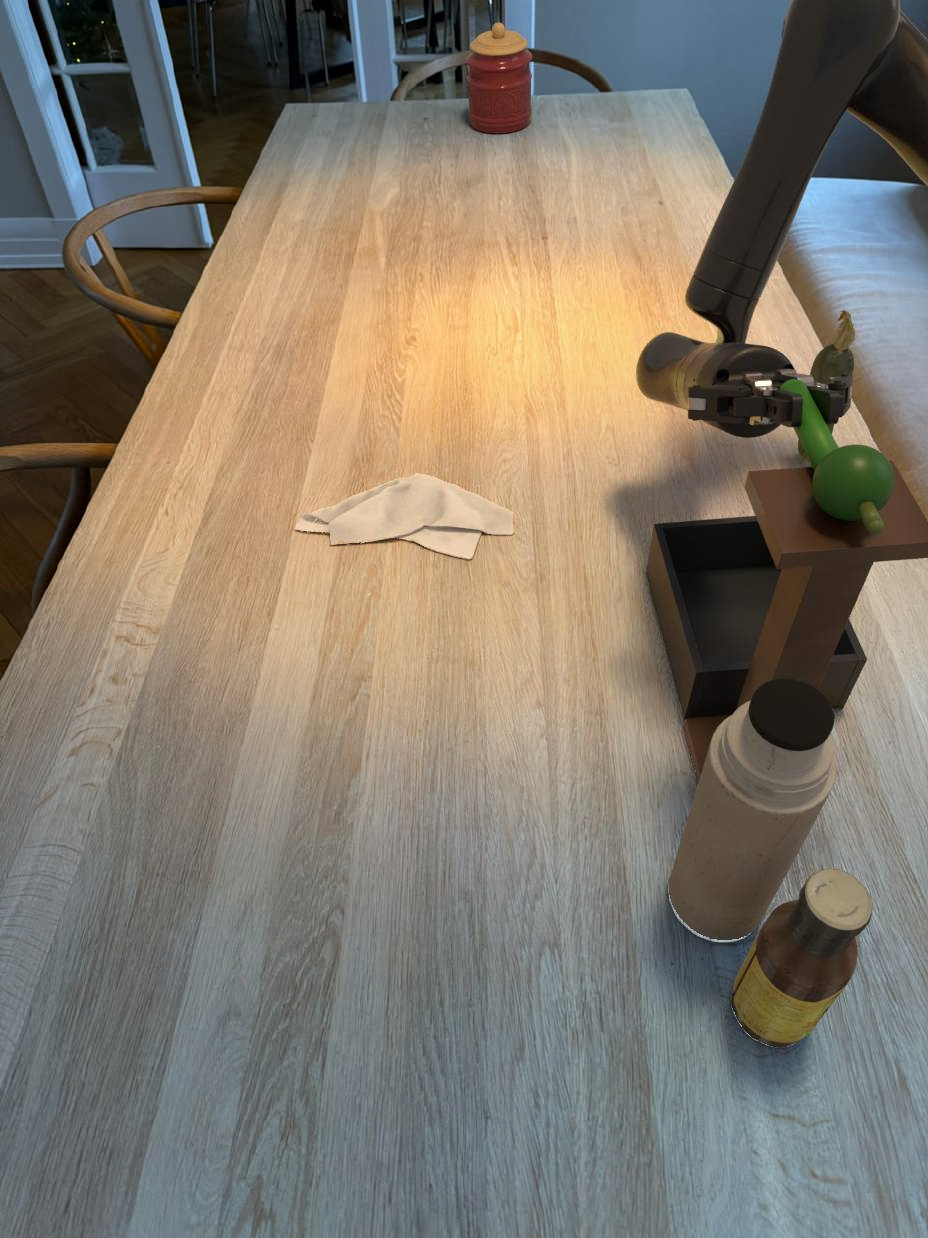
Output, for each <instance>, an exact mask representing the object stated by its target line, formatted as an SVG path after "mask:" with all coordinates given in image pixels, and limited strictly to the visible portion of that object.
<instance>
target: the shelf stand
mask: <svg viewBox="0 0 928 1238" xmlns="http://www.w3.org/2000/svg"><path fill="white" fill-rule="evenodd" d="M888 461H889V462H890V464H891V466H892V468H893V472H894V478H895V483H894V489H893V493H892V495H891V497H890V499H889V501H888V502H887V503H886V505H885V506H884V507H883V508H882V509H881V510H880V511H878V513H879V515H880V517H881V519H882V520H883V522H884V530H883V531H882V532H881V533H880V534H877V535H874V534H870V533H869V532H868V531H867V529H866V527H865V525H864V523H863V521H862V519H861V520H856V521H846V520H840V519H837V518H834V517H832V516H830V515H829V514H827V513H826V512H825V511H824V510H823V509H822V508H821V507H820V506H819V505H818V503H817V502H816V500H815V497H814V494H813V489H812V480H813V476H814V469H813V467H812V466H800V467H788V468H787V467H786V468H774V469H773V468H772V469H762V470H749V471H748V472H747V476H746V479H745V482H744V483H745V484H744V490H745V493H746V495H747V498H748V500H749V502H750V505H751V508H752V510H753V513H754V516H756V518H757V520H758V523H759V525H760V528H761V531H762V533H763V536H764V538H765V541H766V543H767V546H768V548H769V551H770V553H771V556H772V558H773V561H774V563H775V566H776V568H777V569H782V570H781V573H780V576H779V579H778V582H777V585H776V588H775V591H774V595H773V598H772V601H771V604H770V607H769V610H768V613H767V616H766V619H765V622H764V625H763V628H762V631H761V634H760V637H759V640H758V643H757V646H756V649H755V652H754V656H753V659H752V662H751V665H750V668H749V671H748V674H747V677H746V680H745V683H744V686H743V689H742V692H741V695H740V698H739V701H738V704H737V707H736V710H737V709H738V708H739V707H740V706H741V705H743V704H745V703H746V702H748V701H751V698H752V696H753V694H754V692H755V691H756V690H757V689H758V688H759V687H760V686H761V685H762V684H764V683H766V682H768V681H771V680H775V679H794V680H798V681H802V682H805V683H807V684H809V685H811V686H813V687H814V688H816V689H817V690H818V688H819V685H820V683H821V681H822V679H823V676H824V674H825V672H826V669H827V667H828V665H829V663H830V660H831V658H832V656H833V654H834V651H835V649H836V647H837V644H838V642H839V640H840V638H841V635H842V633H843V631H844V628H845V626H846V624H847V622H848V619H849V620H850V618H851V615H852V613H853V610H854V608H855V606H856V603H857V601H858V599H859V597H860V594H861V592H862V589H863V587H864V585H865V583H866V581H867V578H868V576H869V573H870V571H871V569H872V566H873V565H874V563H881V562H893V561H894V562H895V561H907V560H918V559H919V560H921V559H928V519H927V517H926V516H925V514H924V513H923V511H922V509H921V507H920V505H919V503H918V502H917V500H916V498H915V497H914V495H913V493H912V492H911V490H910V489H909V486H908V485H907V483H906V481H905V480H904V478H903V476H902V474H901V472H900V471H899V469H898V467H897V466H896V464H895V462H894V461H893V460H888ZM736 710H735V711H736ZM730 716H731V715H724V716H711V717H698V718H686V720H684V724H683V729H684V733H685V737H686V741H688V742H687V745H689V746H688V749H689V748H690V750H689V753H690V752H691V753H690V756H692V757H691V761H692V760H693V761H692V765H693V764H694V765H693V768H694V767H695V769H694V771H695V770H696V773H695V775H696V774H697V776H696V780H697V779H698V780H697V783H698V782H699V779H700V776H701V773H702V770H703V766H704V763H705V759H706V756H707V752H708V749H709V746H710V743H711V740H712V737H713V734H714V732H715V731H716V729H717V728H718V726H719V725H720V724H721V723H722V722H723V721H724V720H725V719H726V718H728V717H730Z"/></svg>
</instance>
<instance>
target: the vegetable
mask: <svg viewBox="0 0 928 1238" xmlns="http://www.w3.org/2000/svg"><path fill="white" fill-rule="evenodd" d="M840 312H841V313H840V314H839V317H838V318H837V321H838V322H840V321H841V322H840V324H839V325H838V327H837V330H836V333H835V334H834V336H833V339H832V343H830V344H828V345H826V346H824V348H822V349H821V350H820V351H819V352H818V353H817V354H816V356H815V358H814V360H813V362H812V366H811V367H810V373H809V375H812V377H813V379H814V380H815V381H816V383H821V384H826V385H828V380H829V378H830V377H836V376H840V375H841V374H848V375H853V373H854V369H855V358H854V354H853V352H852V350H851V349H850V348H849V347H850V346H851V345H852V344H853V342H854V341H855V338H856V337H855V336H856V330H855V328H854V326H855V325H854V323H853V322H852V315H851V313H850V312H849V311H847V310H845V309H842V310H840ZM827 426H828V428H829V430H830V432H831V434H832V435H833V432H834V428H835V424H827ZM797 452H798V456H800V457H801V458H802V459H803V461H809V459H808V457H807V455H806V453H805V451H804V449H803V447H802V445H801V443H800V441H799V438H798V440H797Z"/></svg>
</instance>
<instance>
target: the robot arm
mask: <svg viewBox="0 0 928 1238" xmlns="http://www.w3.org/2000/svg"><path fill="white" fill-rule="evenodd" d="M767 92H768V93H767V96H766V99H765V102H764V105H763V108H762V111H761V114H760V117H759V119H758V122H757V125H756V127H755V131H754V134H753V136H752V139H751V141H750V144H749V147H748V149H747V152H746V154H745V155H744V158H743V161H742V163H741V165H740V168H739V170H738V172H737V174H736V176H735V178H734V181H733V182H732V185H731V187H730V188H729V191H728V193H727V195H726V198H725V200H724V202H723V204H722V206H721V208H720V210H719V212H718V214H717V217H716V219H715V221H714V223H713V226H712V228H711V229H710V232H709V235H708V236H707V240H706V242H705V244H704V247H703V249H702V251H701V253H700V255H699V259H698V261H697V264H696V266H695V268H694V271H693V274H692V276H691V278H690V281H689V283H688V285H687V288H686V291H685V294H684V303H685V306H686V307H687V309H688V310H689V311H690V312H692V313H693V314H695V315H696V316H697V317H699V318H701V319H703V320H705V321H706V322H708V323H710V325H712V326H714V327H715V328H716V340H715V342H708V341H707V342H706V341H702V340H699V339H697V338H696V339H695V338H692V337H690V336H689V337H688V336H686V335H683V334H680V333H677V332H672V331H665V332H662V333H659V334H657V335H656V336H654V337H653V338H651V339H650V340H649V341H648V342H647V343H646V345H644V347H643V348H642V350H641V352H640V354H639V356H638V359H637V362H636V367H635V380H636V384H637V388H638V389H639V392H640V393H641V394H642V395H643V397H645V398H647V399H649V400H651V401H654V402H658V403H661V404H665V405H668V406H672V407H675V408H677V409H682V410H684V411H687V419H688V420H692V421H693V422H695V421H702V422H704V423H705V424H707V425H709V426H711V427H713V428H715V429H718V430H720V431H722V432H724V433H727V434H729V435H731V436H733V437H736V438H743V439H752V438H754V439H755V438H760V437H763V436H766V435H767V434H770V433H772V432H773V431H775V430H777V428H779V427H780V426H781V425H782V426H784V427H787V428H793V427H800V426H801V423H802V411H803V397H802V395H801V394H797V393H793V392H789V391H785V390H780V387H781V386H782V385H783V384H784V383H785V382H786V381H788V380H791V379H797V380H800V381H802V382H803V383H804V384H805V385H806V387H807V388H808V390H809V392H810V394H811V396H812V398H813V400H814V402H815V404H816V406H817V407H818V409H819V411H820V413H821V415H822V417H823V419H824V421H825V423H826V425H827V424H834V425H836V424H838V422H839V420H840V418H843V417H844V416H845V415H846V414H847V412H849V410H850V408H851V405H852V393H853V379H854V376H853V374H852V375H848V374H841V375H840V376H836V377H830V378H829V380H828V385H826V384H821V383H816V381H815V380H814V379H813V377H812V375H810V374H805V373H799V372H797V370H796V369H795V367H794V365H793V363H792V362H791V361H790V359H789V358H788V357H787V356H786V355H785V354H784V353H783V352H782V351H780V350H778V349H776V348H774V347H771V346H767V345H762V344H755V343H754V344H753V343H747V338H748V334H749V329H750V327H751V323H752V319H753V316H754V313H755V310H756V308H757V306H758V303H759V302H760V299H761V297H762V295H763V292H764V290H765V288H766V286H767V284H768V281H769V280H770V277H771V275H772V274H773V270H774V269H775V266H776V264H777V261H778V260H779V257H780V255H781V253H782V250H783V248H784V245H785V243H786V241H787V238H788V235H789V233H790V232H791V228H792V226H793V223H794V221H795V217H796V215H797V213H798V210H799V208H800V205H801V203H802V200H803V198H804V195H805V193H806V191H807V188H808V186H809V183H810V181H811V178H812V176H813V174H814V172H815V170H816V168H817V166H818V163H819V161H820V160H821V157H822V155H823V153H824V151H825V149H826V147H827V146H828V143H829V141H830V139H831V137H832V136H833V134H834V132H835V130H836V129H837V126H838V125H839V123H840V121H841V120H842V118H843V116H844V114H845V113H846V112H847V113H849V114H850V115H851V116H853V117H854V118H856V119H857V120H859V121H860V122H862V123H863V124H864V125H866V126H867V127H868V128H870V129H871V130H873V131H874V132H875V133H876V134H878V135H879V137H881V138H882V139H883V140H884V141H886V142H887V143H888V144H889V145H890V146H891V147H892V148H893V149H894V151H895V152H896V153H897V154H898V155H899V156H900V158H902V159H903V161H904V162H905V164H907V166H908V167H909V168H910V169H911V170H912V171H913V172H914V174H915V175H916V176H917V177H918V178H919V179H920V180H921V181H922V183H924V185H925V186H926V187H927V188H928V38H927V37H926V36H925V34H923V33H922V32H921V31H920V29H918V28H917V26H915V24H914V23H913V22H912V21H911V20H910V19H909V17H908V16H907V15H906V14H905V13H904V11H902V9H901V1H900V0H790V3H789V5H788V7H787V9H786V12H785V15H784V19H783V23H782V29H781V42H780V46H779V50H778V54H777V57H776V61H775V66H774V70H773V74H772V77H771V81H770V85H769V90H768V91H767Z"/></svg>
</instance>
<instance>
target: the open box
mask: <svg viewBox="0 0 928 1238" xmlns="http://www.w3.org/2000/svg"><path fill="white" fill-rule="evenodd" d="M647 556H648V557H647V563H646V570H645V578H646V581H647V585H648V589H649V592H650V596H651V600H652V604H653V608H654V612H655V616H656V619H657V623H658V626H659V630H660V634H661V638H662V642H663V645H664V650H665V655H666V657H667V661H668V665H669V669H670V672H671V676H672V680H673V683H674V687H675V691H676V695H677V699H678V703H679V707H680V710H681V715H682V718H684V719H683V720H684V721H685V720H686V718H698V717H711V716H724V715H733V713H734V712H735V710H736V707H737V704H738V701H739V698H740V695H741V692H742V689H743V686H744V683H745V680H746V677H747V674H748V671H749V668H750V665H751V662H752V659H753V656H754V652H755V649H756V646H757V643H758V640H759V637H760V634H761V631H762V628H763V625H764V622H765V619H766V616H767V613H768V610H769V607H770V604H771V601H772V598H773V595H774V591H775V588H776V585H777V582H778V579H779V576H780V573H781V570H782V569H777V568H776V566H775V563H774V561H773V558H772V556H771V553H770V551H769V548H768V546H767V543H766V541H765V538H764V536H763V533H762V531H761V528H760V525H759V523H758V520H757V518H756V515H747V516H734V517H722V518H708V519H707V518H706V519H696V520H695V519H694V520H683V521H682V520H681V521H670V522H669V521H668V522H657V523H653V525H652V530H651V537H650V544H649V551H648V555H647ZM867 661H868V658H867V655H866V653H865V651H864V648H863V647H862V645H861V642H860V639H859V638H858V635H857V633H856V631H855V629H854V626H853V625H852V622H851V620H850V618H849V619H848V622H847V624H846V626H845V628H844V631H843V633H842V635H841V638H840V640H839V642H838V644H837V647H836V649H835V651H834V654H833V656H832V658H831V660H830V663H829V665H828V667H827V669H826V672H825V674H824V676H823V679H822V681H821V683H820V685H819V688H818V690H819V691H820V692H821V693H822V694H823V695H824V696H825V697H826V698H827V699H828V701H829V702H830V704H831V706H832V708H833V710H837V709H844V708H845V706H846V704H847V702H848V700H849V698H850V696H851V694H852V691H854V687H855V685H856V683H857V682H858V679H859V677H860V675H861V674H862V671H863V670H864V667H865V665H866V663H867Z"/></svg>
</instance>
